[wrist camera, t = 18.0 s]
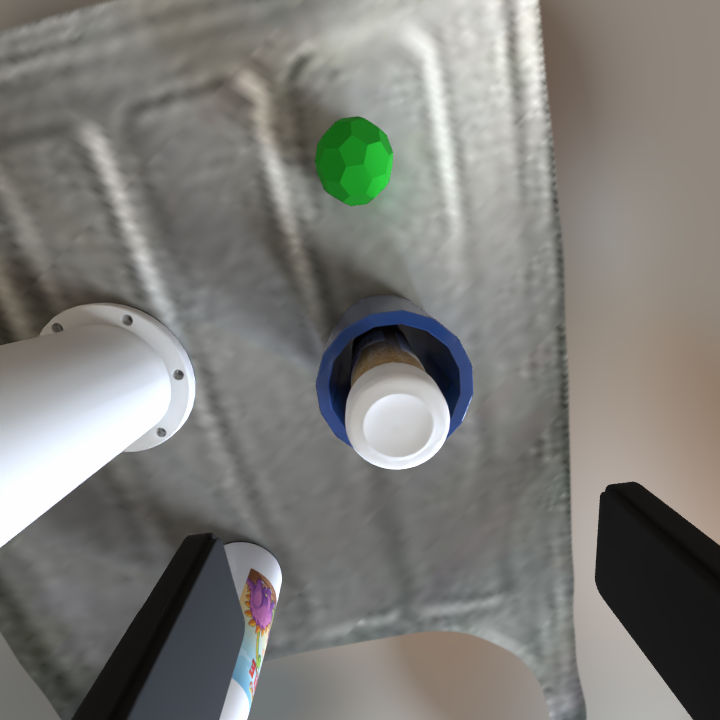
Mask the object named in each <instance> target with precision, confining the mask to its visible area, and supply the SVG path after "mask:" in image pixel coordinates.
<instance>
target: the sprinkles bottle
mask: <svg viewBox="0 0 720 720" xmlns="http://www.w3.org/2000/svg"><path fill="white" fill-rule="evenodd" d="M449 424H450V415H449V409H448V406H447V403H446V400H445V398H444V396H443V394H442V393H441V391H440V389H439V387H438V386H437V384H436V383H435V381H434V380H433V379H432V378H431V377H430V376H429V375H428V374H427V373H426V372H425V369H424V367H423V366H422V364H421V362H420V360H419V359H418V357H417V355H416V353H415V352H414V351H413V349H412V347H411V346H410V344H409V343H408V341H407V338H406V337H405V335H404V333H403V332H402V331H401V330H400V329H398V328H397V327H396V326H394V325H387V326H379V327H374V328H372V329H370V330H368V331H366V332H365V333H363V334H361V335H359V336H357V337H356V338H355V339H354V341H353V345H352V369H351V390H350V392H349V395H348V398H347V403H346V412H345V427H346V432H347V436H348V438H349V441H350V443H351V445H352V446H353V448H354V449H355V451H356V452H357V453H358V454H359V455H360V456H361V457H363V458H364V459H365V460H367V461H368V462H370V463H372V464H374V465H376V466H379V467H383V468H387V469H405V468H410V467H414V466H417V465H419V464H421V463H423V462H425V461H426V460H428V459H429V458H431V457H432V456H433V455H434V454H435V453H436V452H437V451H438V450H439V449H440V447H441V446H442V444H443V443H444V441H445V439H446V436H447V434H448V431H449Z"/></svg>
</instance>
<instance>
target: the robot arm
mask: <svg viewBox="0 0 720 720" xmlns="http://www.w3.org/2000/svg"><path fill="white" fill-rule="evenodd" d="M132 319H133V320H132ZM181 371H182V372H183V373H182V372H181ZM194 398H195V378H194V373H193V368H192V365H191V363H190V360H189V358H188V356H187V353H186V352H185V350H184V348H183V347H182V345H181V344H180V342H179V341H178V339H177V338H176V337H175V336H174V335H173V334H172V333H171V332H170V331H169V330H168V328H166V327H165V326H164V325H163V324H161V323H160V322H159V321H157V320H156V319H155V318H153V317H151V316H150V315H148V314H146V313H144V312H142V311H140V310H138V309H135V308H132V307H129V306H126V305H121V304H115V303H91V304H86V305H79V306H76V307H73V308H70V309H68V310H65V311H63V312H62V313H60V314H58V315H57V316H55V317H54V318H52V319H51V321H50V322H49V323H48V324H47V325H46V326H45V327H44V328H43V329H42V331H41V333H40V335H39V336H38V337H35V338H31V339H26V340H22V341H17V342H13V343H9V344H4V345H0V547H1V546H3V545H4V544H5V543H7V542H8V541H9V540H10V539H12V538H13V537H14V536H15V535H17V534H18V533H19V532H20V531H22V530H23V529H24V528H25V527H27V526H28V525H29V524H31V523H32V522H33V521H34V520H36V519H37V518H38V517H39V516H41V515H42V514H43V513H44V512H46V511H47V510H48V509H50V508H51V507H52V506H53V505H55V504H56V503H57V502H58V501H60V500H61V499H62V498H63V497H65V496H66V495H67V494H69V493H70V492H71V491H72V490H74V489H75V488H76V487H77V486H79V485H80V484H81V483H82V482H84V481H85V480H86V479H88V478H89V477H90V476H91V475H93V474H94V473H95V472H96V471H98V470H99V469H100V468H101V467H103V466H104V465H105V464H106V463H108V462H109V461H110V460H112V459H113V458H114V457H115V456H117V455H118V454H119V453H120V452H136V451H141V450H146V449H149V448H152V447H154V446H157V445H159V444H161V443H163V442H164V441H165V440H167V439H168V438H170V437H171V436H172V435H173V434H174V433H175V432H177V431H178V430H179V429H180V428H181V426H182V425H183V424H184V422H185V421H186V420H187V418H188V416H189V414H190V412H191V409H192V407H193V403H194ZM598 522H599V523H598V537H597V553H596V569H595V582H596V586H597V589H598V591H599V593H600V595H601V596H602V597H603V599H604V600H605V602H606V603H607V605H608V606H609V607H610V608H611V610H612V611H613V613H614V614H615V615H616V617H617V618H618V619H619V621H620V622H621V623H622V625H623V626H624V627H625V629H626V630H627V631H628V633H629V634H630V635H631V637H632V638H633V639H634V641H635V642H636V643H637V645H638V646H639V648H640V649H641V650H642V652H643V653H644V654H645V656H646V657H647V658H648V660H649V661H650V662H651V663H652V665H653V666H654V668H655V669H656V670H657V672H658V673H659V674H660V676H661V677H662V678H663V680H664V681H665V682H666V684H667V685H668V687H669V688H670V689H671V691H672V692H673V693H674V694H675V696H676V697H677V699H678V700H679V701H680V703H681V704H682V705H683V707H684V708H685V709H686V711H687V712H688V713H689V715H690V716H691V717H692V719H693V720H720V545H718V544H717V543H716V542H714V541H713V540H712V539H711V538H709V537H708V536H706V535H705V534H704V533H703V532H701V531H700V530H699V529H698V528H696V527H695V526H694V525H692V524H691V523H690V522H688V521H687V520H686V519H685V518H683V517H682V516H681V515H679V514H678V513H677V512H675V511H674V510H673V509H672V508H670V507H669V506H668V505H666V504H665V503H664V502H662V501H661V500H660V499H659V498H657V497H656V496H654V495H653V494H652V493H650V492H649V491H648V490H647V489H645V488H644V487H643V486H642V485H640V484H638V483H636V482H627V483H618V484H611V485H608V486H607V487H606V490H605V492H602V493H601V495H600V505H599V521H598ZM244 633H245V619H244V615H243V612H242V608H241V605H240V601H239V598H238V594H237V591H236V587H235V584H234V580H233V577H232V573H231V570H230V566H229V563H228V559H227V556H226V552H225V549H224V545H223V542H222V540H221V539H220V538H217V539H216V537H215V535H214V534H213V533H205V534H197V535H189V536H187V537H186V538H185V539H184V541H183V542H182V544H181V545H180V547H179V549H178V550H177V552H176V553H175V555H174V557H173V558H172V560H171V562H170V563H169V565H168V566H167V568H166V570H165V571H164V573H163V575H162V576H161V578H160V579H159V581H158V583H157V584H156V586H155V587H154V589H153V591H152V592H151V594H150V596H149V597H148V599H147V600H146V602H145V604H144V605H143V607H142V608H141V609H140V611H139V612H138V613H137V615H136V617H135V618H134V620H133V621H132V623H131V625H130V626H129V628H128V629H127V631H126V633H125V634H124V636H123V637H122V639H121V641H120V642H119V644H118V646H117V647H116V649H115V650H114V652H113V654H112V655H111V657H110V658H109V660H108V662H107V663H106V665H105V666H104V668H103V670H102V671H101V673H100V675H99V676H98V678H97V679H96V681H95V683H94V684H93V686H92V687H91V689H90V691H89V692H88V694H87V695H86V697H85V699H84V700H83V702H82V703H81V705H80V707H79V708H78V710H77V712H76V713H75V715H74V716H73V718H72V720H219V719H220V716H221V712H222V709H223V706H224V702H225V699H226V696H227V692H228V689H229V685H230V682H231V679H232V675H233V672H234V669H235V665H236V662H237V658H238V655H239V652H240V648H241V645H242V642H243V638H244Z"/></svg>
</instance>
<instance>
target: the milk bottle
mask: <svg viewBox="0 0 720 720" xmlns="http://www.w3.org/2000/svg"><path fill="white" fill-rule="evenodd" d="M224 549H225V552H226V556H227V559H228V563H229V566H230V570H231V573H232V577H233V580H234V584H235V587H236V591H237V594H238V598H239V601H240V605H241V608H242V612H243V615H244V619H245V633H244V638H243V642H242V645H241V648H240V652H239V655H238V658H237V662H236V665H235V669H234V672H233V675H232V679H231V682H230V685H229V689H228V692H227V696H226V699H225V702H224V706H223V709H222V712H221V716H220V719H219V720H247V717H248V714H249V710H250V707H251V703H252V699H253V696H254V692H255V688H256V684H257V680H258V677H259V672H260V669H261V665H262V661H263V657H264V653H265V649H266V645H267V641H268V637H269V633H270V629H271V625H272V621H273V616H274V612H275V608H276V604H277V600H278V596H279V592H280V587H281V582H282V575H281V570H280V566H279V564H278V562H277V560H276V559H275V558H274V556H273V555H272V554H271V553H269V552H268V551H267V550H265V549H264V548H262V547H260V546H257V545H255V544H251V543H245V542H236V543H230V544H226V545H224Z"/></svg>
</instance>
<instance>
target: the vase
mask: <svg viewBox="0 0 720 720" xmlns="http://www.w3.org/2000/svg"><path fill="white" fill-rule="evenodd" d="M387 325H394V326H396V327H397V328H398V329H400V330H401V331H402V332H403V333H404V335H405V337H406V338H407V341H408V343H409V344H410V346H411V347H412V349H413V351H414V352H415V353H416V355H417V357H418V359H419V360H420V362H421V364H422V366H423V367H424V369H425V372H426V373H427V374H428V375H429V376H430V377H431V378H432V379H433V380H434V381H435V383H436V384H437V386H438V387H439V389H440V391H441V393H442V394H443V396H444V398H445V400H446V403H447V406H448V409H449V415H450V424H449V431H448V434H447V436H446V439H447V438H448V437H449V436H450V435H451V434H452V433H453V432H454V431H455V430H456V428H457V427H458V426H459V425H460V424H461V423H462V421H463V419H464V417H465V414H466V411H467V409H468V406H469V404H470V401H471V398H472V395H473V378H472V365H471V362H470V360H469V358H468V356H467V354H466V352H465V350H464V348H463V346H462V344H461V342H460V340H459V339H458V338H457V337H456V336H455V335H454V334H453V333H451V332H450V331H449V330H448V329H446V328H445V327H444V326H443V325H442V324H440V323H439V322H438V321H437V320H435V319H434V318H433V317H431V316H430V315H429V314H427V313H426V312H425V311H423V310H422V309H421V308H419V307H418V306H417V305H415V304H414V303H413V302H411V301H410V300H407V299H404V298H401V297H398V296H393V295H375V296H370V297H367V298H364V299H362V300H360V301H358V302H356V303H355V304H353V305H352V306H351V307H349V308H348V309H347V310H346V311H345V312H344V313H343V315H342V316H341V317H340V319H339V320H338V322H337V323H336V324H335V327H334V329H333V331H332V334H331V336H330V339H329V341H328V344H327V346H326V349H325V351H324V353H323V356H322V360H321V364H320V367H319V371H318V375H317V379H316V390H317V396H318V402H319V408H320V411H321V414H322V416H323V417H324V419H325V420H326V422H327V423H328V425H329V426H330V428H331V430H332V431H333V433H334V434H335V435H336V437H338V438H339V439H341V440H342V441H343V442H345V443H346V444H348V445H349V446H351V447H352V448H353V446H352V445H351V443H350V441H349V438H348V436H347V432H346V427H345V412H346V403H347V398H348V395H349V392H350V390H351V369H352V345H353V341H354V339H355V338H356V337H357V336H359V335H361V334H363V333H365V332H366V331H368V330H370V329H372V328H374V327H379V326H387ZM446 439H445V440H446Z"/></svg>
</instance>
